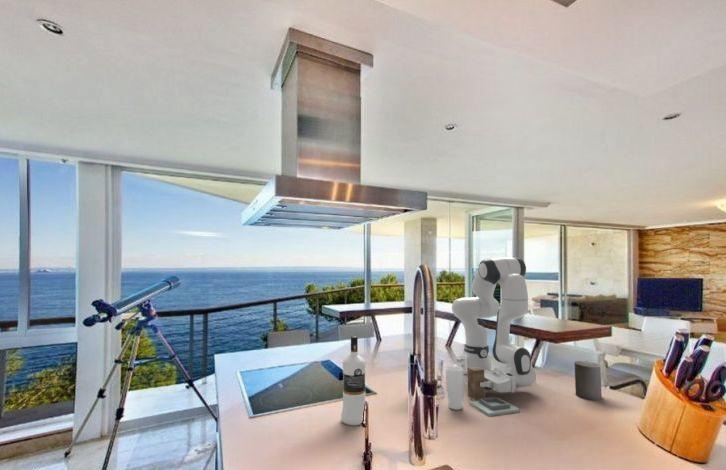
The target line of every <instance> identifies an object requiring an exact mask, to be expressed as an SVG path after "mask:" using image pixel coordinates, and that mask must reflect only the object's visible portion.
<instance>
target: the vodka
mask: <svg viewBox="0 0 726 470" xmlns="http://www.w3.org/2000/svg"><path fill="white" fill-rule="evenodd" d="M358 338H359V336H357V335H352V336H351V337H350V354H349V355H348V356H347V357H346V358H344V360H343V362H342V376H343V377H342V379H343V381H342V383H343V384H342V385H343V386H342V387H343V389H342V390H343V391H342V412H341V414H340V415H341V417H340V419H341V422H342V423H344V424H345V425H347V426H352V427H355V426H360V425H361V426H362V424H361V423H362V415H363V408H364V403H365V404H366V360H365V358H363V357H362V356H361V355H359V352H358V351H359V350H358V346H359V345H358V340H359V339H358Z"/></svg>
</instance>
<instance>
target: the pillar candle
mask: <svg viewBox="0 0 726 470" xmlns="http://www.w3.org/2000/svg"><path fill="white" fill-rule="evenodd" d="M601 374H602V373H601V364H599V363H597V362H594V361H589V360H588V361H587V360H575V361H574V384H575V386H574V388H575V396H576V397H579V398H582V399H585V400H589V401H590V400H591V401H599V400H602V395H603V394H602V376H601Z"/></svg>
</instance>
